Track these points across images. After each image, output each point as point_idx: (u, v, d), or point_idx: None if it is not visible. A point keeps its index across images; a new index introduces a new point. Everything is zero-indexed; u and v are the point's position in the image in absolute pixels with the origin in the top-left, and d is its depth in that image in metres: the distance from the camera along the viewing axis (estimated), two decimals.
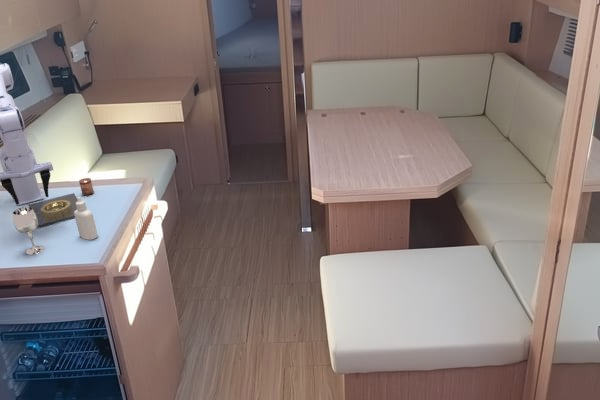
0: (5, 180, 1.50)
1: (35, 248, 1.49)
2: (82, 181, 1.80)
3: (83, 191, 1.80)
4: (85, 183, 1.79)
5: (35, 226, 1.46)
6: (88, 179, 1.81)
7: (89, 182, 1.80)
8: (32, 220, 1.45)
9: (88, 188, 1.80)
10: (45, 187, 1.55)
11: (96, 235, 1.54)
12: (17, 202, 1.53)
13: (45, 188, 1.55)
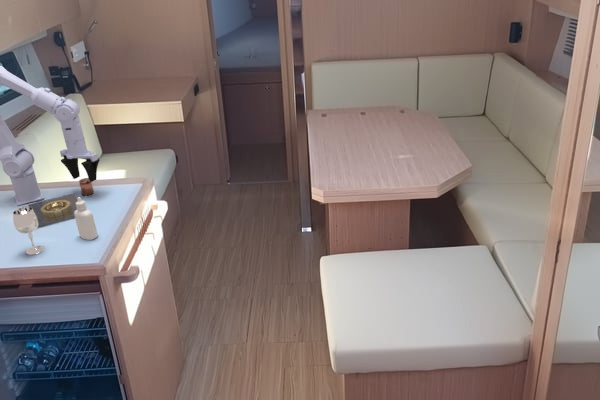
0: (66, 156, 1.79)
1: (35, 248, 1.49)
2: (82, 181, 1.80)
3: (83, 191, 1.80)
4: (85, 183, 1.79)
5: (35, 226, 1.46)
6: (88, 179, 1.81)
7: (89, 182, 1.80)
8: (32, 220, 1.45)
9: (88, 188, 1.80)
10: (87, 173, 1.76)
11: (96, 235, 1.54)
12: (73, 177, 1.81)
13: (87, 174, 1.76)
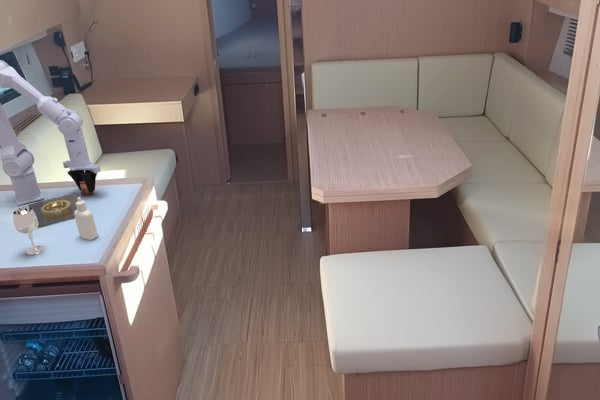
0: None
1: (35, 248, 1.49)
2: (82, 181, 1.80)
3: (83, 191, 1.80)
4: (85, 183, 1.79)
5: (35, 226, 1.46)
6: None
7: None
8: (32, 220, 1.45)
9: None
10: (86, 184, 1.78)
11: (96, 235, 1.54)
12: (79, 188, 1.82)
13: (86, 184, 1.79)
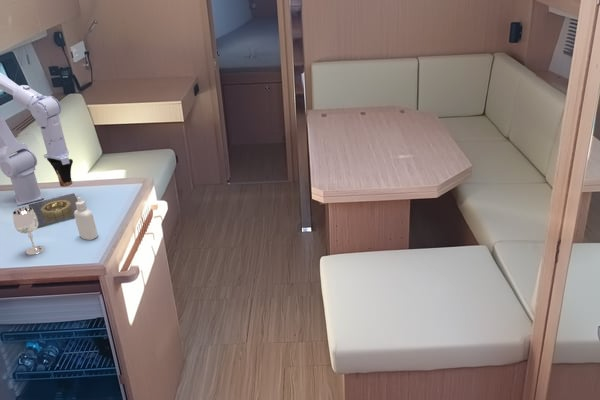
0: None
1: (35, 248, 1.49)
2: None
3: (59, 180, 1.71)
4: None
5: (35, 226, 1.46)
6: None
7: None
8: (32, 220, 1.45)
9: None
10: (59, 174, 1.68)
11: (96, 235, 1.54)
12: None
13: None
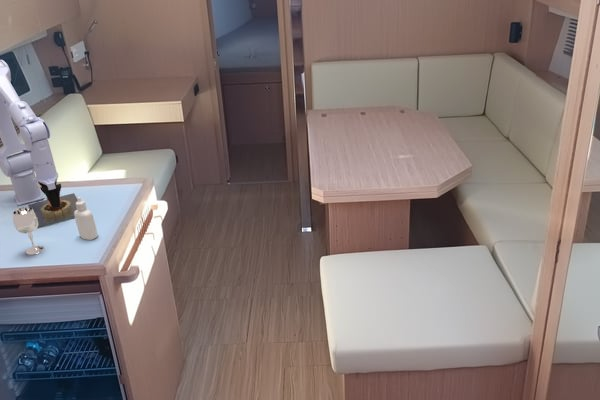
0: None
1: (35, 248, 1.49)
2: None
3: (49, 207, 1.69)
4: None
5: (35, 226, 1.46)
6: None
7: None
8: (32, 220, 1.45)
9: None
10: (48, 198, 1.65)
11: (96, 235, 1.54)
12: None
13: (48, 199, 1.65)
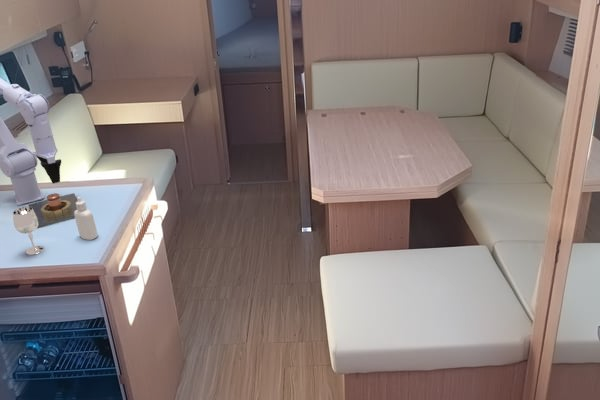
0: None
1: (35, 248, 1.49)
2: (49, 196, 1.68)
3: (49, 207, 1.69)
4: (49, 199, 1.67)
5: (35, 226, 1.46)
6: (56, 195, 1.68)
7: (54, 199, 1.67)
8: (32, 220, 1.45)
9: (53, 206, 1.68)
10: (48, 174, 1.66)
11: (96, 235, 1.54)
12: (47, 173, 1.74)
13: (48, 175, 1.66)
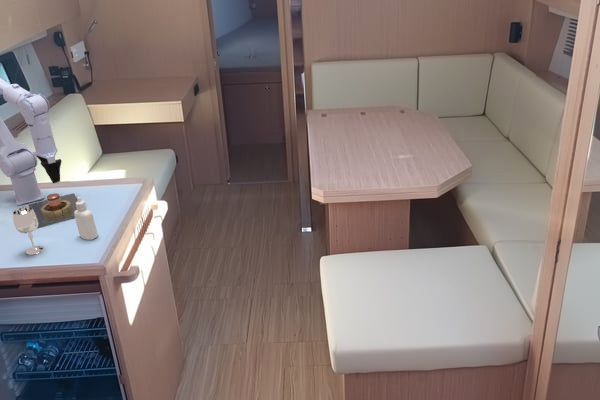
0: None
1: (35, 248, 1.49)
2: (49, 196, 1.68)
3: (49, 207, 1.69)
4: (49, 199, 1.67)
5: (35, 226, 1.46)
6: (56, 195, 1.68)
7: (54, 199, 1.67)
8: (32, 220, 1.45)
9: (53, 206, 1.68)
10: (48, 174, 1.66)
11: (96, 235, 1.54)
12: (47, 173, 1.74)
13: (48, 175, 1.67)
